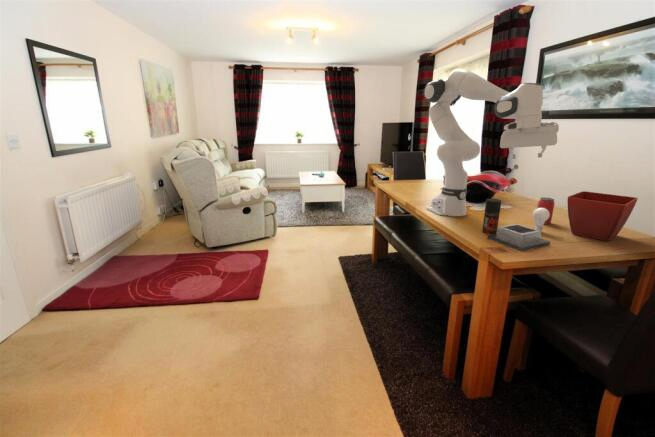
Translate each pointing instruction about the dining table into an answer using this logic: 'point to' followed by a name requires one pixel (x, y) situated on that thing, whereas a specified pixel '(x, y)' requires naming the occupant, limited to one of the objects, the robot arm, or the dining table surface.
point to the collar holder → (519, 237)
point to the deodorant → (491, 216)
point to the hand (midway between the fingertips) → (526, 158)
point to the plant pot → (598, 214)
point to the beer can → (547, 206)
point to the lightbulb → (540, 217)
